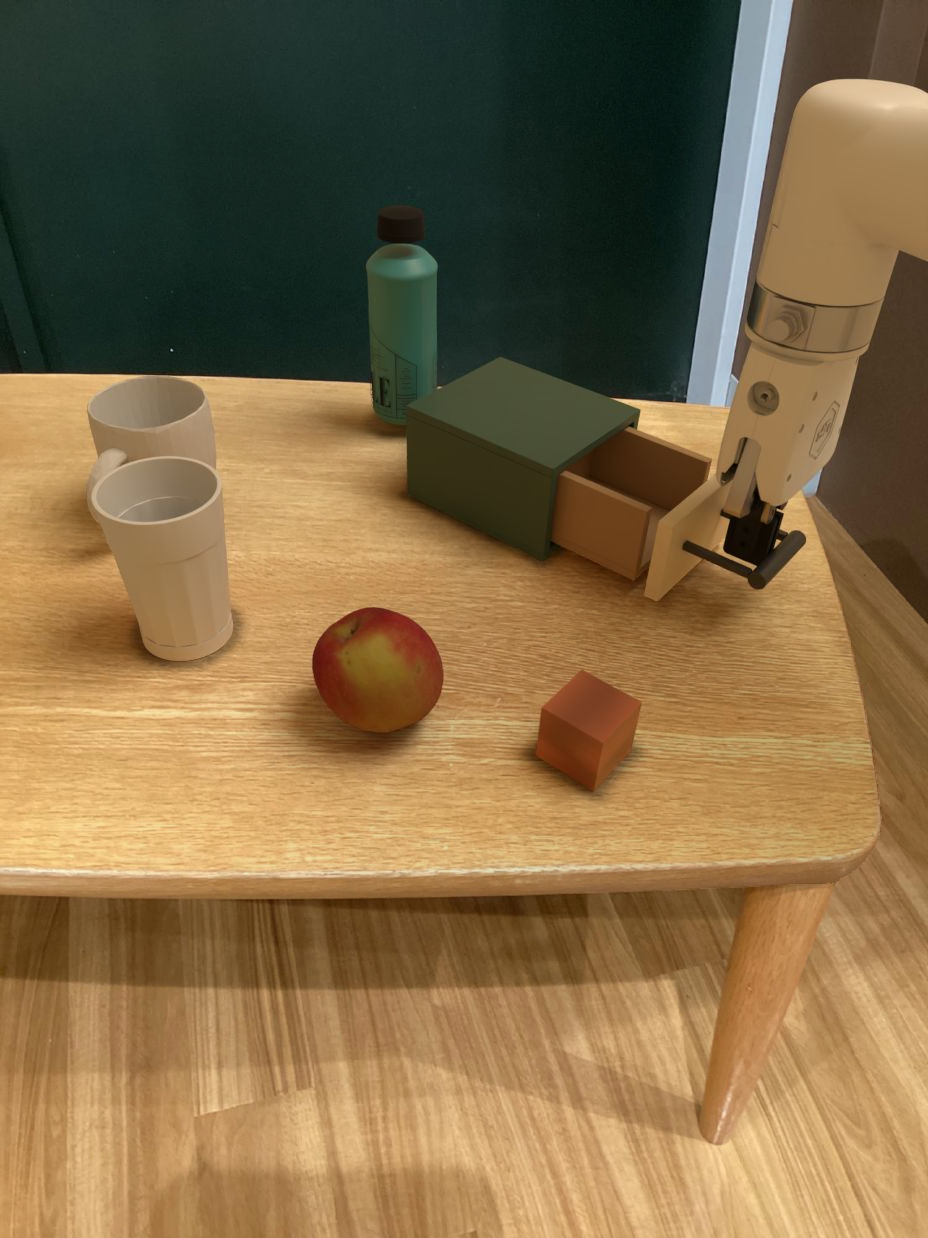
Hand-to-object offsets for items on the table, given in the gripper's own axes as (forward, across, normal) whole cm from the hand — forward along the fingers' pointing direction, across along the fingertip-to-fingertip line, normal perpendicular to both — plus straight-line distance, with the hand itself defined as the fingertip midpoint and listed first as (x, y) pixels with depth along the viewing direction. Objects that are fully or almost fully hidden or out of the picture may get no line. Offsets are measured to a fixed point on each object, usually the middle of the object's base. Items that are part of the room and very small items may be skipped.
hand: (746, 554), depth 68 cm
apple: (+4, -27, +12) cm, 30 cm away
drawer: (+3, 0, +7) cm, 8 cm away
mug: (+4, -23, +41) cm, 47 cm away
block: (+4, -21, 0) cm, 21 cm away
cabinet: (+4, 0, +21) cm, 21 cm away
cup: (+4, -30, +28) cm, 41 cm away
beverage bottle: (+4, +3, +37) cm, 37 cm away
